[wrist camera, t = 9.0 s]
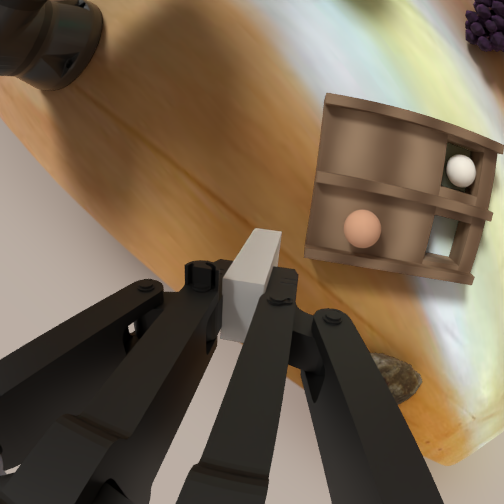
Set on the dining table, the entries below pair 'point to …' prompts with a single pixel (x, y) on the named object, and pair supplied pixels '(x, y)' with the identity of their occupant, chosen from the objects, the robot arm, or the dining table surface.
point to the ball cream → (460, 170)
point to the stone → (398, 376)
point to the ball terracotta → (362, 228)
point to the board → (396, 189)
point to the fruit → (486, 25)
